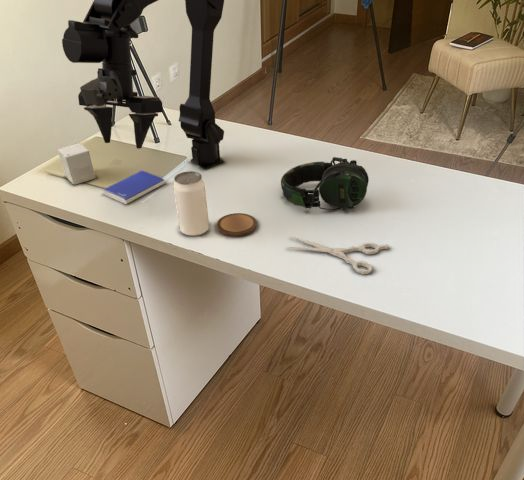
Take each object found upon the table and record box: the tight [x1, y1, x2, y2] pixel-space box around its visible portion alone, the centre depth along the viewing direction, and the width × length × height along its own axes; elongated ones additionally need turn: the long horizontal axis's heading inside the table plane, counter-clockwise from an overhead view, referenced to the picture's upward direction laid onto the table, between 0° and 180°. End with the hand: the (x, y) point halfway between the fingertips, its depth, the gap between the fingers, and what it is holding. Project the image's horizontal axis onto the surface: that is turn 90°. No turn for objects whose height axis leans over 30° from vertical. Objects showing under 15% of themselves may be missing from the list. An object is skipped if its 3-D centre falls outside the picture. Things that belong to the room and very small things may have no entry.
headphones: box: [280, 156, 370, 211], centre depth 121 cm, size 13×13×20 cm
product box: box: [57, 142, 97, 186], centre depth 133 cm, size 6×6×7 cm
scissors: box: [290, 236, 390, 275], centre depth 108 cm, size 11×1×20 cm
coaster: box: [216, 212, 258, 238], centre depth 117 cm, size 9×9×1 cm
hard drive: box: [102, 170, 165, 205], centre depth 130 cm, size 2×8×12 cm
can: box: [173, 170, 210, 237], centre depth 112 cm, size 6×6×12 cm
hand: (123, 145), depth 114 cm, fingers open, 9 cm apart
